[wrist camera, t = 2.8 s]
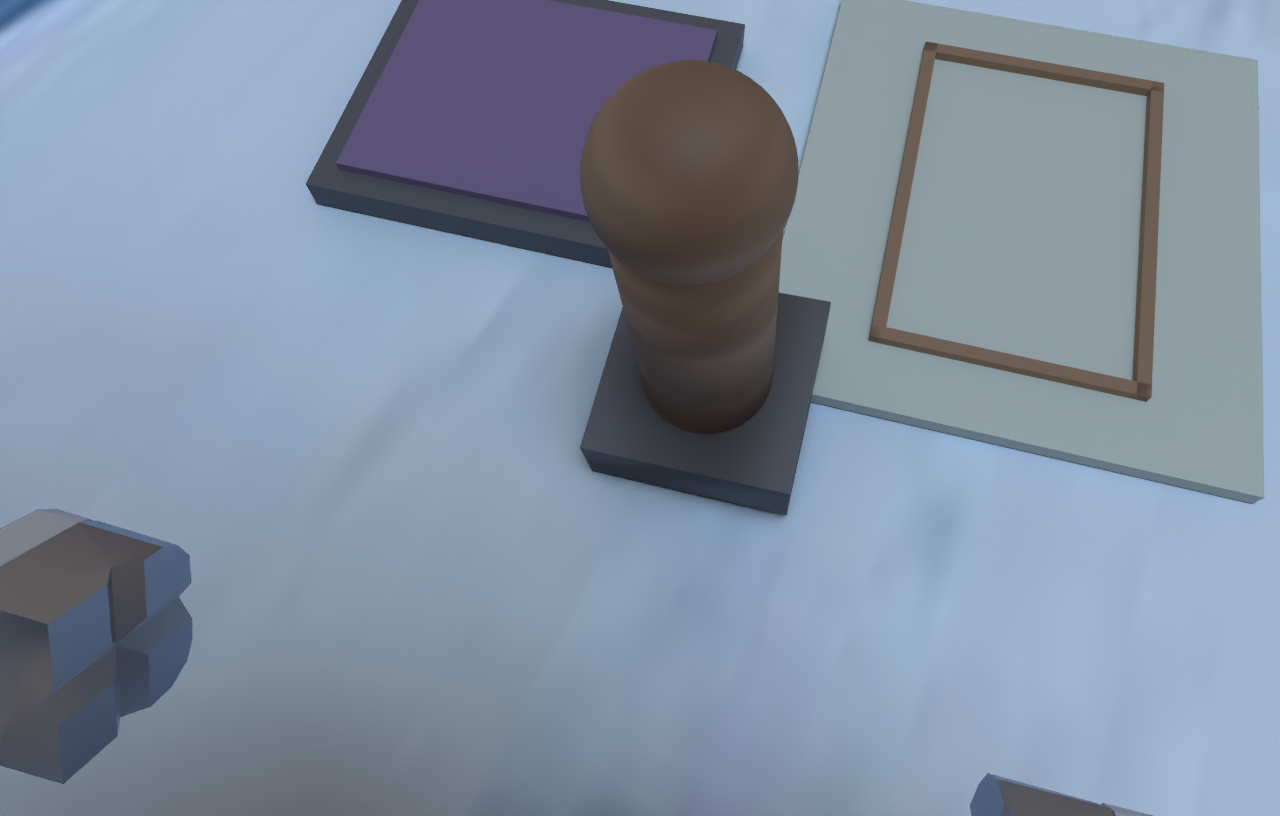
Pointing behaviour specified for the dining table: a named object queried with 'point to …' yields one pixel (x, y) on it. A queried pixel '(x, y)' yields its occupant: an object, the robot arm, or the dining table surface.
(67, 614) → the robot arm
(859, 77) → the print card
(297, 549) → the dining table surface
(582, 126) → the ink pad
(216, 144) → the dining table surface
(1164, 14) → the dining table surface
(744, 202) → the stamp
